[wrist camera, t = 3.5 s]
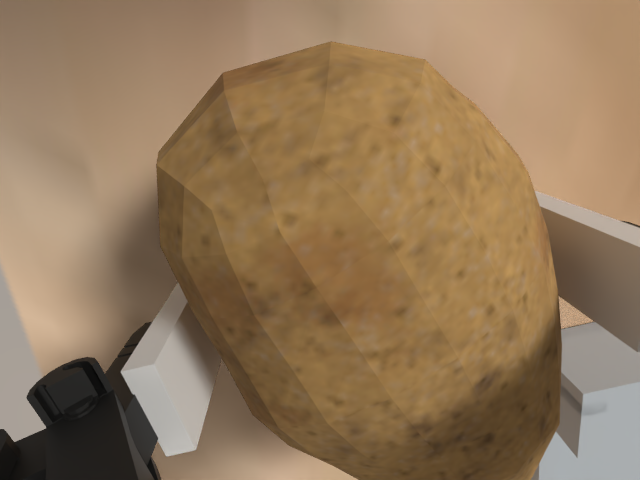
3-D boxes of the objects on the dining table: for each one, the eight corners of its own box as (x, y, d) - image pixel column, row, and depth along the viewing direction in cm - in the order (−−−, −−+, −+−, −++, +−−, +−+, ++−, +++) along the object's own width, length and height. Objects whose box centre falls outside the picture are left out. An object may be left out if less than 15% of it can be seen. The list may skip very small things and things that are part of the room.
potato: (341, 405, 17) (378, 631, 10) (144, 161, 13) (-72, 245, 5) (524, 310, 16) (724, 487, 9) (383, -3, 11) (560, -212, 4)
